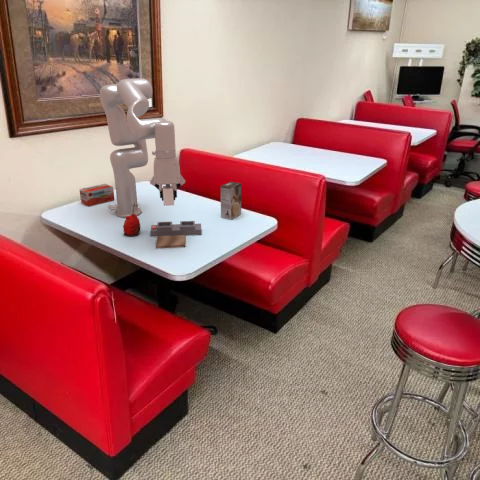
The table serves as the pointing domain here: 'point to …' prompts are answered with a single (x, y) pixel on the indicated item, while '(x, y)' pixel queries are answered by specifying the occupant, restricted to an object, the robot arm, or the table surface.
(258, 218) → the table surface
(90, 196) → the medicine box
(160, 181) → the robot arm
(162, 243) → the walnut mat
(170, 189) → the plug
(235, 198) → the coffee box
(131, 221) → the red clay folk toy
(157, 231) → the power strip
